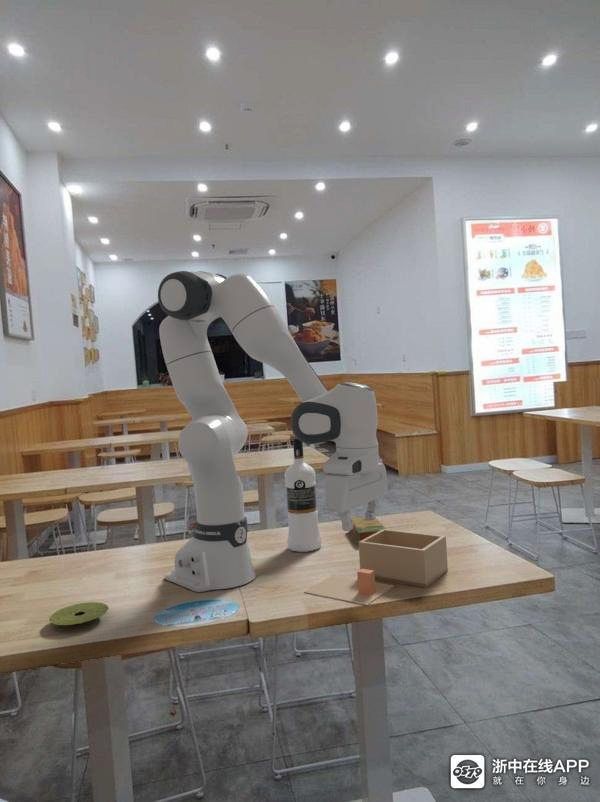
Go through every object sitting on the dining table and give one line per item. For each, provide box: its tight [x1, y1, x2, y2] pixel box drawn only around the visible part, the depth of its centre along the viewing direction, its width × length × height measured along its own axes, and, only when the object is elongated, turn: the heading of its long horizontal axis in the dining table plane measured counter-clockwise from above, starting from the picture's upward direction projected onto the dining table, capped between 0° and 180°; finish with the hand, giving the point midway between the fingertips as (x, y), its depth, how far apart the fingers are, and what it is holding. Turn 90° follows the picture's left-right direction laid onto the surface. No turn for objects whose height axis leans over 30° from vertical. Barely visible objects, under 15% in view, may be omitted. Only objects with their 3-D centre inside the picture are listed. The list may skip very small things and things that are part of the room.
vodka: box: [283, 437, 323, 553], centre depth 158 cm, size 9×9×30 cm
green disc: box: [48, 601, 109, 626], centre depth 118 cm, size 11×11×2 cm
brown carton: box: [358, 528, 449, 589], centre depth 134 cm, size 16×12×8 cm
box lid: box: [303, 569, 394, 607], centre depth 126 cm, size 16×12×5 cm
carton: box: [349, 516, 387, 547], centre depth 165 cm, size 8×16×4 cm, turn 5°
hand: (359, 524), depth 123 cm, fingers open, 8 cm apart
